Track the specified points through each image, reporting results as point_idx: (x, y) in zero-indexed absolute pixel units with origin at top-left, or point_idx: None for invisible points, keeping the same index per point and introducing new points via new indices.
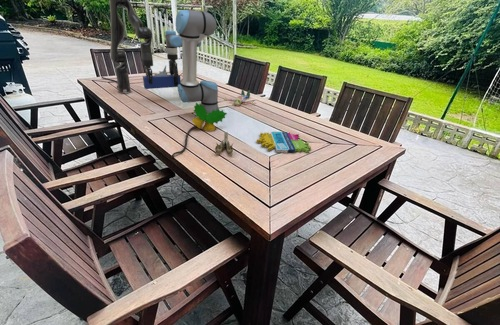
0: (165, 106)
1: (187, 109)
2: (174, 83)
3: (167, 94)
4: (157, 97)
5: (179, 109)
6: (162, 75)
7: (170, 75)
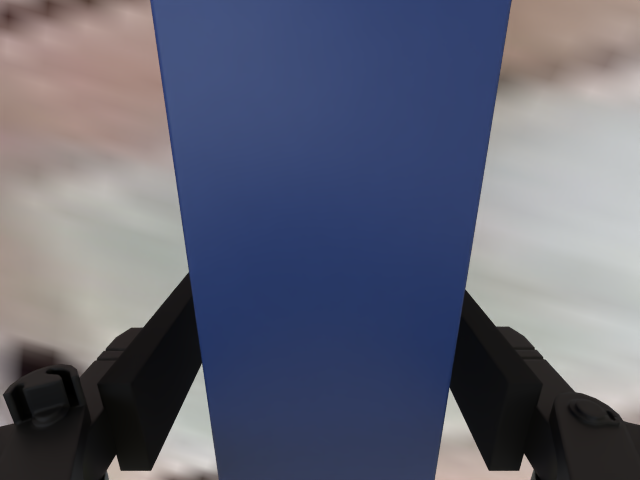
0: (131, 37)
1: (5, 229)
2: (182, 288)
3: (590, 194)
4: (529, 41)
5: (8, 157)
6: (460, 19)
7: (357, 356)
